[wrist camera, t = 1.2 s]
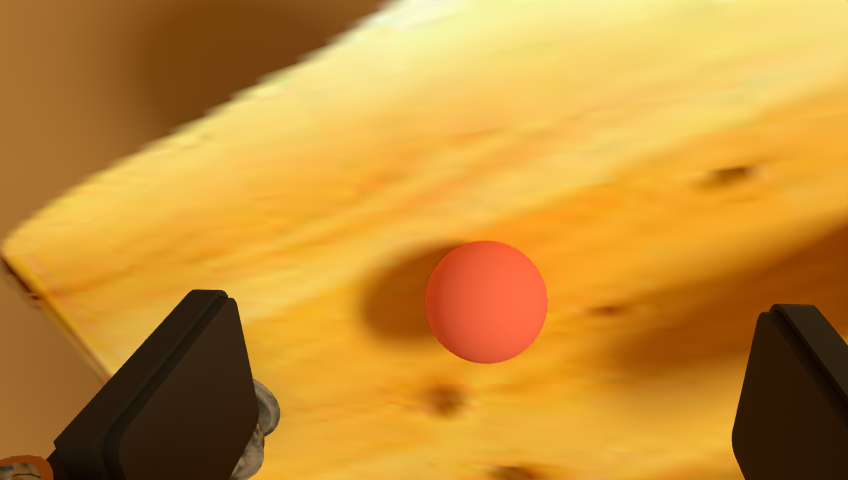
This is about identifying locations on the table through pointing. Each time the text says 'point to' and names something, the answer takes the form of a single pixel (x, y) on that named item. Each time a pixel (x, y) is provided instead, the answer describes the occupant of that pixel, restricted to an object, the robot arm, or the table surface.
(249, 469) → the grey tall rounded piece
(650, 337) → the table surface
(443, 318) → the ball
